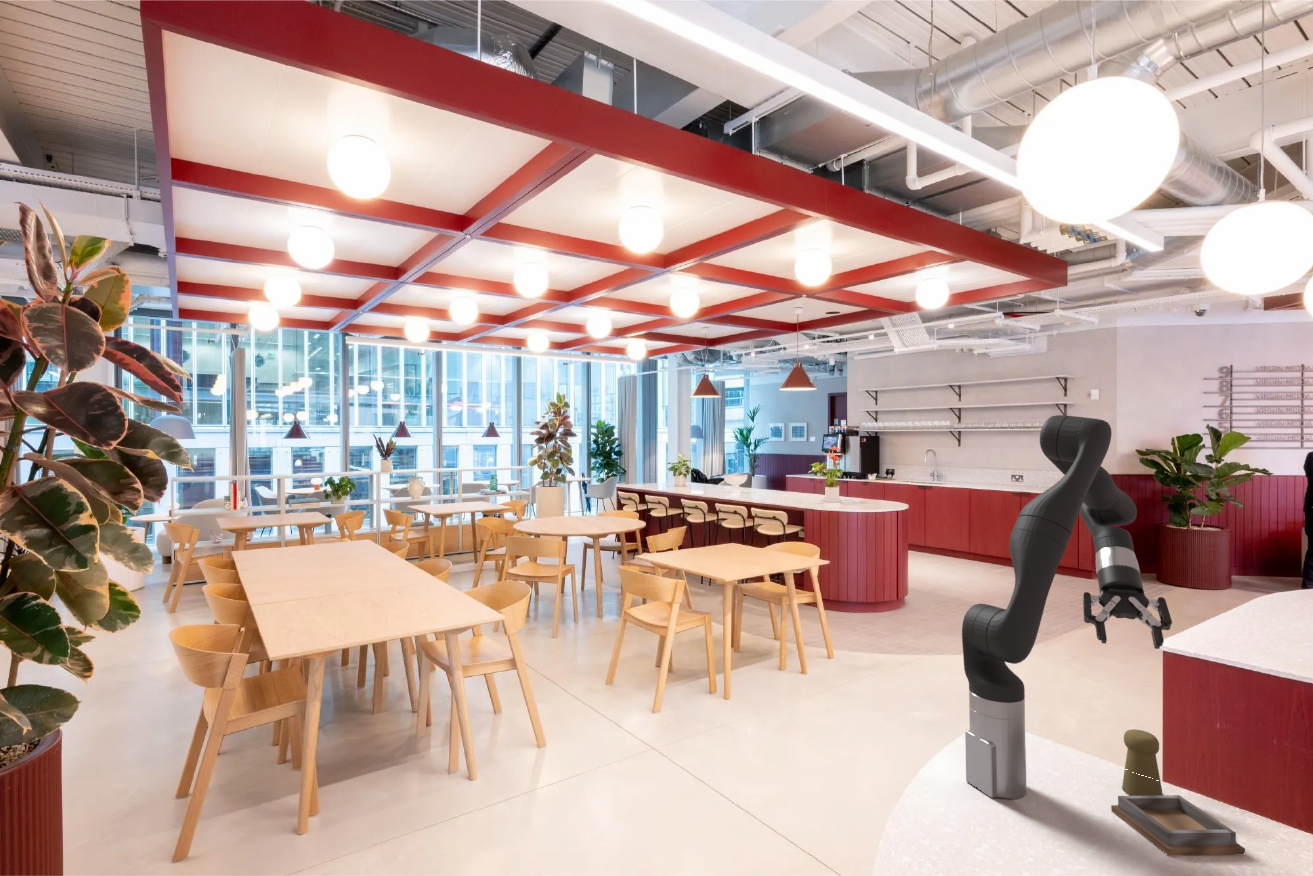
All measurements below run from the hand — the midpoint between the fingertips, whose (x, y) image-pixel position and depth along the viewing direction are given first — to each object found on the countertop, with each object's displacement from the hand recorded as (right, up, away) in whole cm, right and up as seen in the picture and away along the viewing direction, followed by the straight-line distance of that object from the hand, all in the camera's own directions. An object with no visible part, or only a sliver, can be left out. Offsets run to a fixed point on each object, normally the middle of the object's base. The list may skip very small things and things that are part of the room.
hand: (1130, 644), depth 124 cm
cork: (-5, -24, -9) cm, 27 cm away
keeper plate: (-9, -24, -21) cm, 33 cm away
